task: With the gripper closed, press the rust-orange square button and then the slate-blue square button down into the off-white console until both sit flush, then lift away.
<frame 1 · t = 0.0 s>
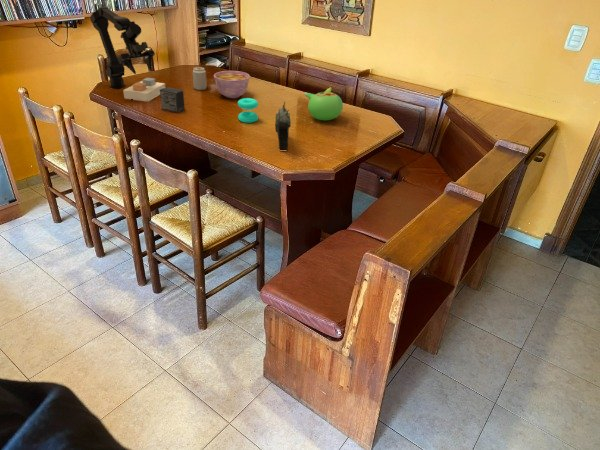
hand: (143, 72, 234), 15 cm above the table, tool tilted 35°, fingers open, 9 cm apart
bowl of food: (232, 96, 256), on the table
console: (145, 94, 250), on the table
small box: (173, 110, 233), on the table
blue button: (148, 82, 251), point 6 cm above the table, slide at 0.0 cm
can: (200, 89, 264), on the table
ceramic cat: (281, 144, 203), on the table
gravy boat: (323, 119, 233), on the table
donuts: (248, 120, 226), on the table
orange button: (139, 87, 243), point 6 cm above the table, slide at 0.0 cm
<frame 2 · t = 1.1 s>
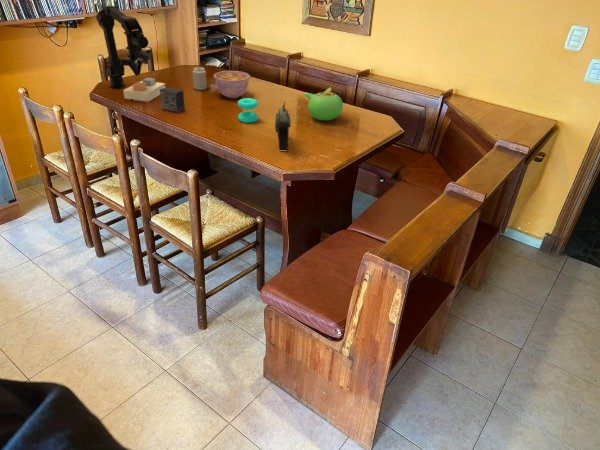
hand: (137, 75, 239), 12 cm above the table, tool pointing down, fingers closed
nothing on the table moved.
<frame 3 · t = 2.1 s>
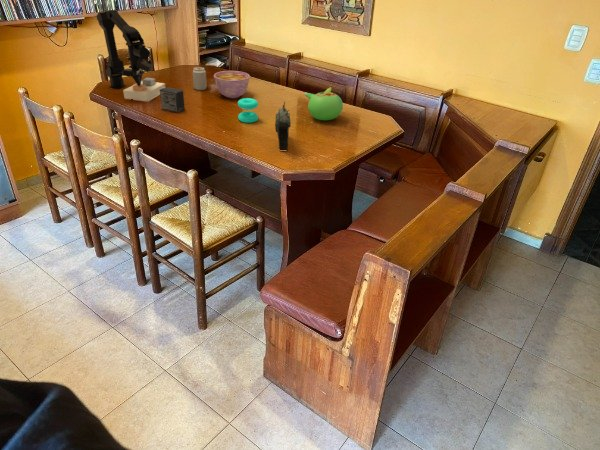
hand: (139, 85, 242), 7 cm above the table, tool pointing down, fingers closed, pressing on orange button
orange button: (139, 88, 243), point 5 cm above the table, slide at 0.8 cm, touching gripper
everything else where it was.
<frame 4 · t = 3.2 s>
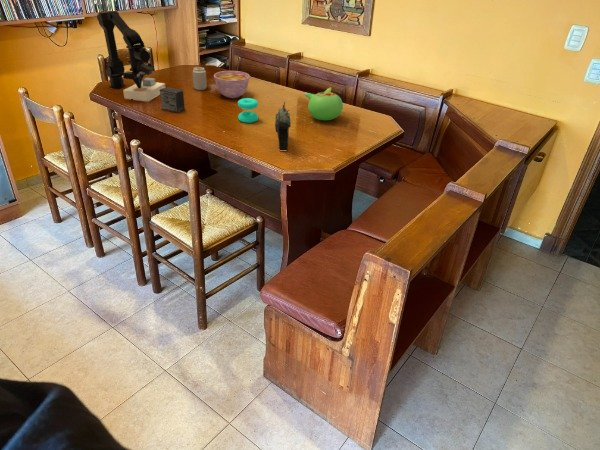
hand: (139, 88, 243), 5 cm above the table, tool pointing down, fingers closed
orange button: (140, 92, 244), point 3 cm above the table, slide at 2.6 cm
everything else where it was.
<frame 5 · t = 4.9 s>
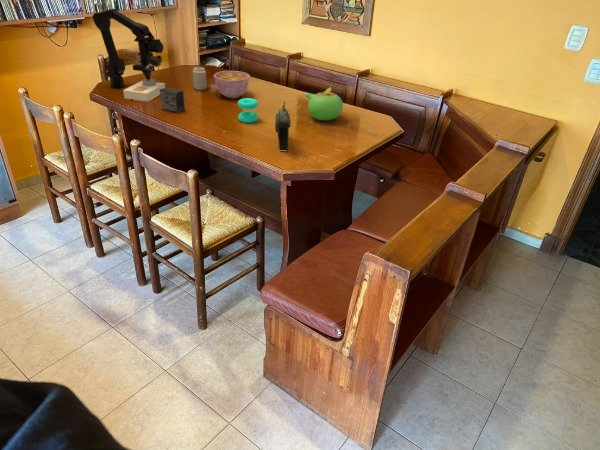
hand: (148, 79, 250), 7 cm above the table, tool pointing down, fingers closed, pressing on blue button
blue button: (149, 83, 251), point 5 cm above the table, slide at 0.3 cm, touching gripper
everything else where it was.
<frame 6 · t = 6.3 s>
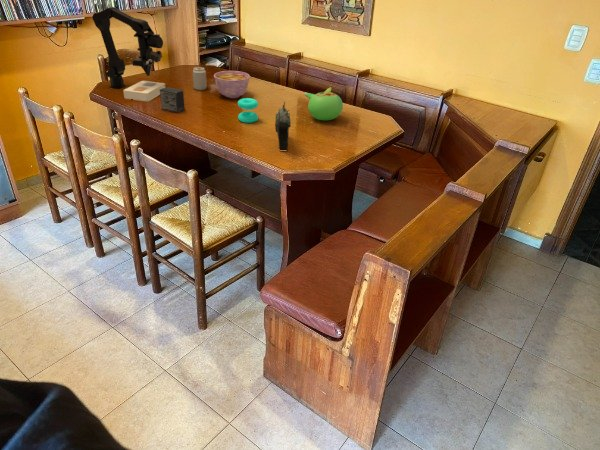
hand: (148, 75, 249), 9 cm above the table, tool pointing down, fingers closed
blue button: (149, 87, 252), point 3 cm above the table, slide at 2.6 cm
everything else where it was.
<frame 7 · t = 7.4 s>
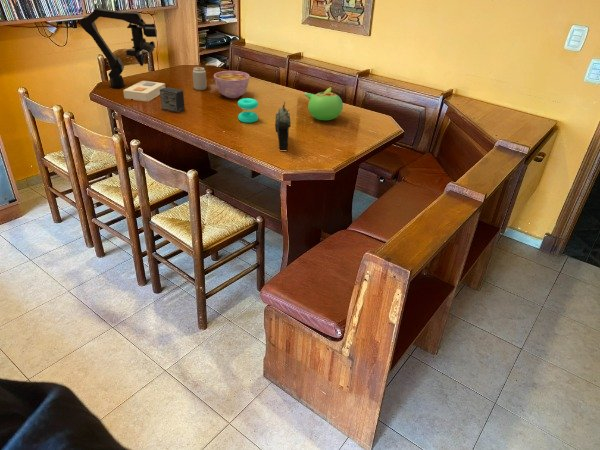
hand: (141, 65, 255), 12 cm above the table, tool pointing down, fingers closed
nothing on the table moved.
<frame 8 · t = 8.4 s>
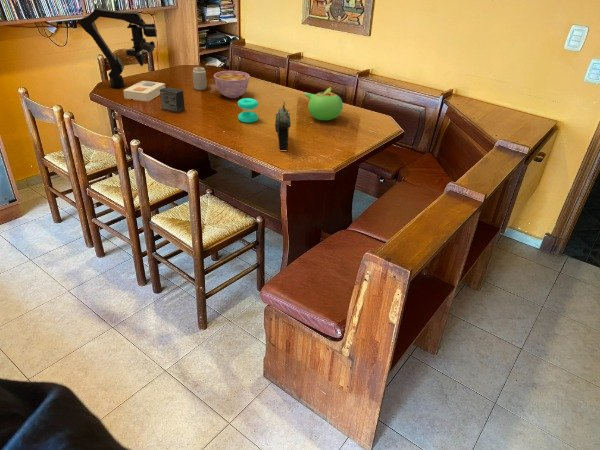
hand: (141, 65, 255), 12 cm above the table, tool pointing down, fingers closed
nothing on the table moved.
at the end: orange button slide at 2.6 cm; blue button slide at 2.6 cm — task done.
